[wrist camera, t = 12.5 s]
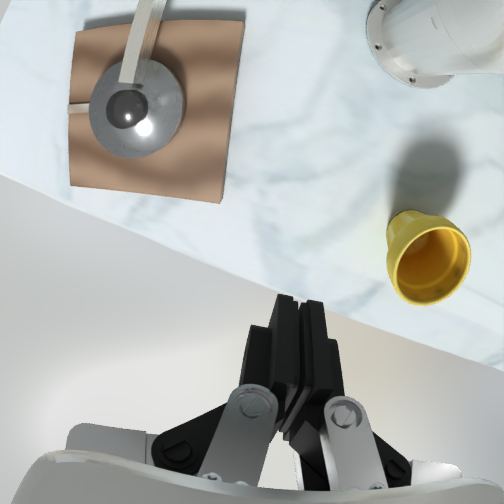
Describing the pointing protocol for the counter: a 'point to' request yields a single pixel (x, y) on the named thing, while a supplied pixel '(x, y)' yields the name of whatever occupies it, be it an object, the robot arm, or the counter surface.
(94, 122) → the dial
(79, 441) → the robot arm
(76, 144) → the dial board
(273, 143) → the counter surface
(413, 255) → the plant pot
